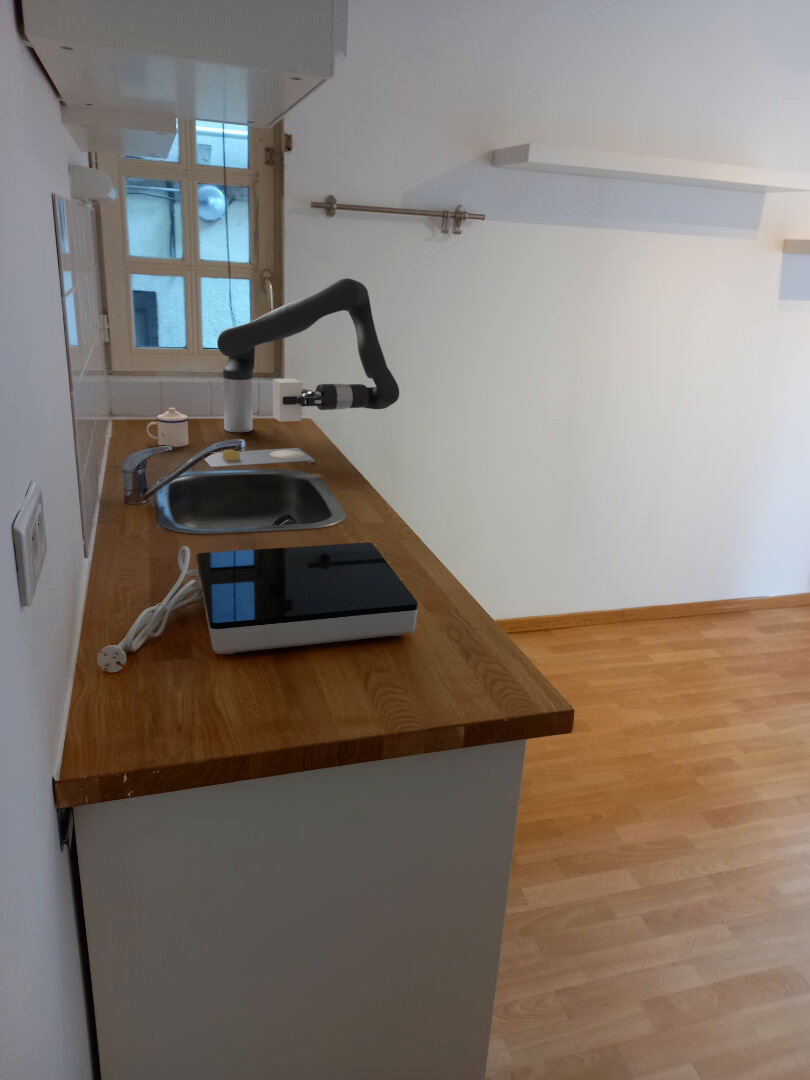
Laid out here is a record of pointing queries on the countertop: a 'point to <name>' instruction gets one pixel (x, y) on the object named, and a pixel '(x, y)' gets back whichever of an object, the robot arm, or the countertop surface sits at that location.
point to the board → (260, 457)
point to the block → (231, 455)
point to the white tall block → (283, 390)
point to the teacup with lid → (171, 428)
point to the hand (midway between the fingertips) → (279, 398)
